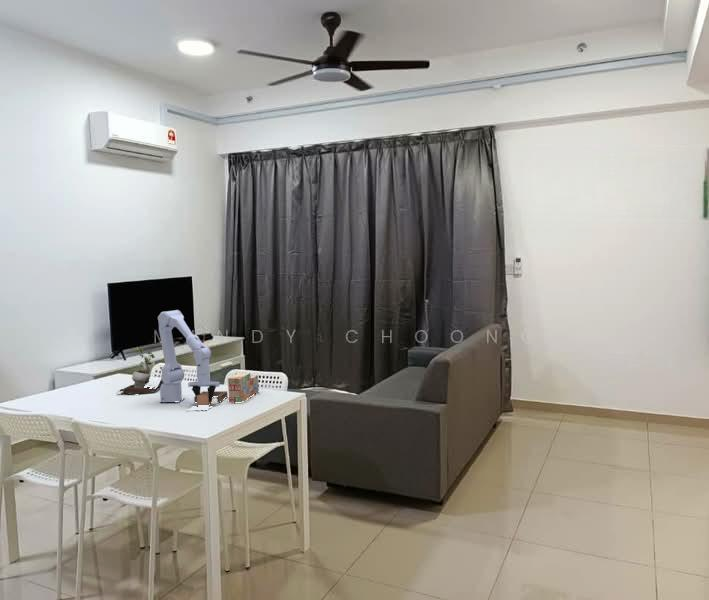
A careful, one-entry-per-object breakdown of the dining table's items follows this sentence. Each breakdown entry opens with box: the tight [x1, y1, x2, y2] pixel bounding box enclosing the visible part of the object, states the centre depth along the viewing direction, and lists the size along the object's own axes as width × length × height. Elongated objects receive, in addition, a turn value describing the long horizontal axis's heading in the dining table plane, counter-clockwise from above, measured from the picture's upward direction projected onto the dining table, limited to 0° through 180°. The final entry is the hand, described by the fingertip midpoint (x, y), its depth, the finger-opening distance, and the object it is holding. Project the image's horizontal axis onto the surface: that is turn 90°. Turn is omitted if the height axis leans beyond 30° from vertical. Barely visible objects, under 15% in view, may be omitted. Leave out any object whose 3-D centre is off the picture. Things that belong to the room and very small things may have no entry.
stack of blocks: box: [227, 372, 260, 403], centre depth 272 cm, size 21×6×12 cm, turn 167°
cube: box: [196, 392, 211, 406], centre depth 261 cm, size 5×5×5 cm
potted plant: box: [116, 347, 164, 395], centre depth 296 cm, size 20×19×25 cm
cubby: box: [193, 390, 228, 403], centre depth 270 cm, size 12×11×3 cm
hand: (204, 401), depth 261 cm, fingers closed on cube, 5 cm apart
